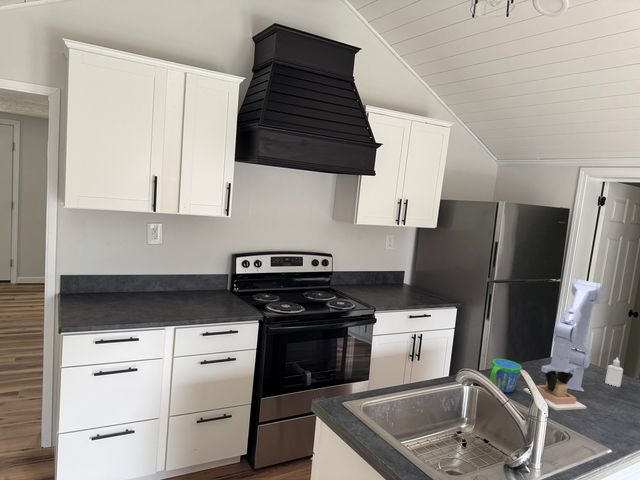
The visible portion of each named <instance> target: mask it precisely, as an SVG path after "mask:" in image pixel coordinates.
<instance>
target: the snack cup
mask: <svg viewBox="0 0 640 480" xmlns="http://www.w3.org/2000/svg"><path fill="white" fill-rule="evenodd" d="M491 364H492V365H491V366H492V369H491V372H490V376H489V377H488V378H489V379H490V380H491V381H492V382H494V383H495V384H496V385H497V386H498V387H499V388H500V389H501V390H502V391H501V392H503V393H513V391H514V390H515V388H516V385H517V382H518V380H519V378H520V377H521V372H520V370H523V368H522V365H521V364H519V363H518V362H515V361H513V360H509V359H505V358H504V359H503V358H494V359H492V361H491Z"/></svg>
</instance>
